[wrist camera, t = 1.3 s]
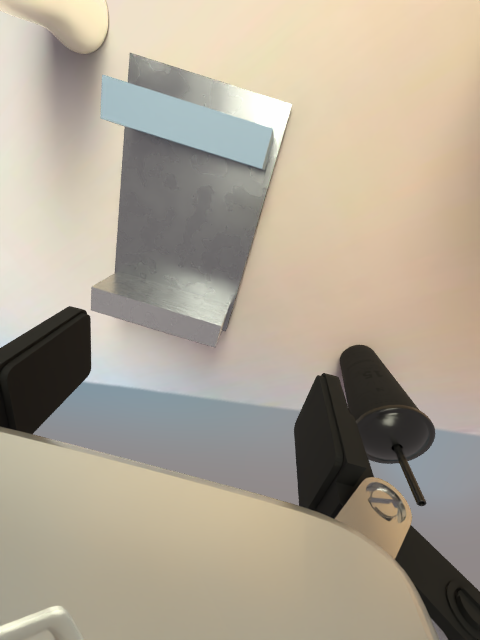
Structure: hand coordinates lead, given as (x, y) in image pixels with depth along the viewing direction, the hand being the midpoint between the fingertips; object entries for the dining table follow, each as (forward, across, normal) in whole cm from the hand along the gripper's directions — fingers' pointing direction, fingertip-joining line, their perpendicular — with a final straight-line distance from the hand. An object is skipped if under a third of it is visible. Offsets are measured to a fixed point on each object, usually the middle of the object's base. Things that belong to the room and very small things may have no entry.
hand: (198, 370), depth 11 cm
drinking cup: (+26, -19, +12) cm, 34 cm away
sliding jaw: (+24, +8, -10) cm, 27 cm away
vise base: (+26, +8, -1) cm, 27 cm away
